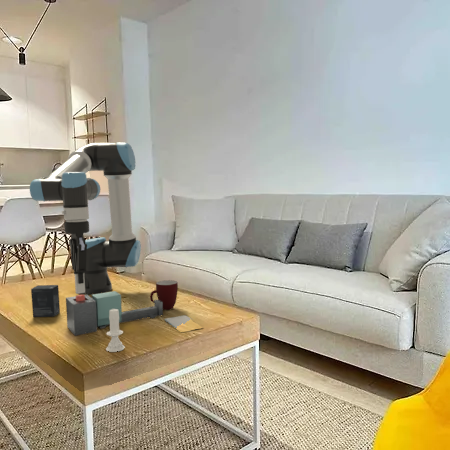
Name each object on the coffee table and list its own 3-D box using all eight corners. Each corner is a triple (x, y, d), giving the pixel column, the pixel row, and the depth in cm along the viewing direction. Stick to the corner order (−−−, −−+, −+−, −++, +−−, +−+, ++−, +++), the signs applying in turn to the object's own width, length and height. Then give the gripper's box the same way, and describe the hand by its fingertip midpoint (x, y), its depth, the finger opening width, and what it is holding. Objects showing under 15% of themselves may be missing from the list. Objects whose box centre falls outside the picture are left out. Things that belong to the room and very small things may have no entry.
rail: (90, 324, 148) (89, 310, 148) (157, 312, 161) (156, 298, 161) (95, 329, 143) (94, 314, 143) (164, 316, 156) (163, 302, 156)
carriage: (93, 321, 149) (91, 294, 148) (116, 317, 153) (115, 291, 152) (98, 326, 144) (97, 298, 143) (122, 322, 148) (120, 294, 147)
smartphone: (180, 332, 138) (163, 318, 151) (180, 335, 138) (163, 321, 151) (204, 327, 142) (185, 314, 155) (204, 330, 142) (185, 317, 155)
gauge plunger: (75, 306, 143) (74, 295, 143) (84, 304, 145) (83, 294, 144) (77, 308, 141) (77, 297, 141) (86, 306, 142) (85, 296, 142)
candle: (102, 351, 124) (100, 310, 123) (110, 344, 129) (108, 305, 128) (120, 352, 123) (118, 311, 122) (127, 345, 128) (126, 305, 127)
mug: (155, 314, 159) (154, 287, 158) (147, 308, 166) (146, 282, 165) (181, 309, 164) (181, 283, 163) (173, 304, 171) (172, 279, 170)
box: (60, 312, 163) (58, 284, 162) (54, 317, 157) (52, 288, 156) (39, 312, 163) (37, 284, 162) (32, 317, 158) (30, 288, 157)
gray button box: (67, 327, 146) (65, 297, 145) (88, 323, 150) (87, 294, 149) (74, 335, 138) (73, 304, 137) (97, 331, 141) (95, 301, 140)
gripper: (59, 219, 144) (63, 290, 146) (69, 223, 133) (73, 299, 135) (83, 218, 148) (86, 286, 150) (94, 221, 137) (97, 295, 139)
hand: (80, 292), depth 143 cm, fingers closed
